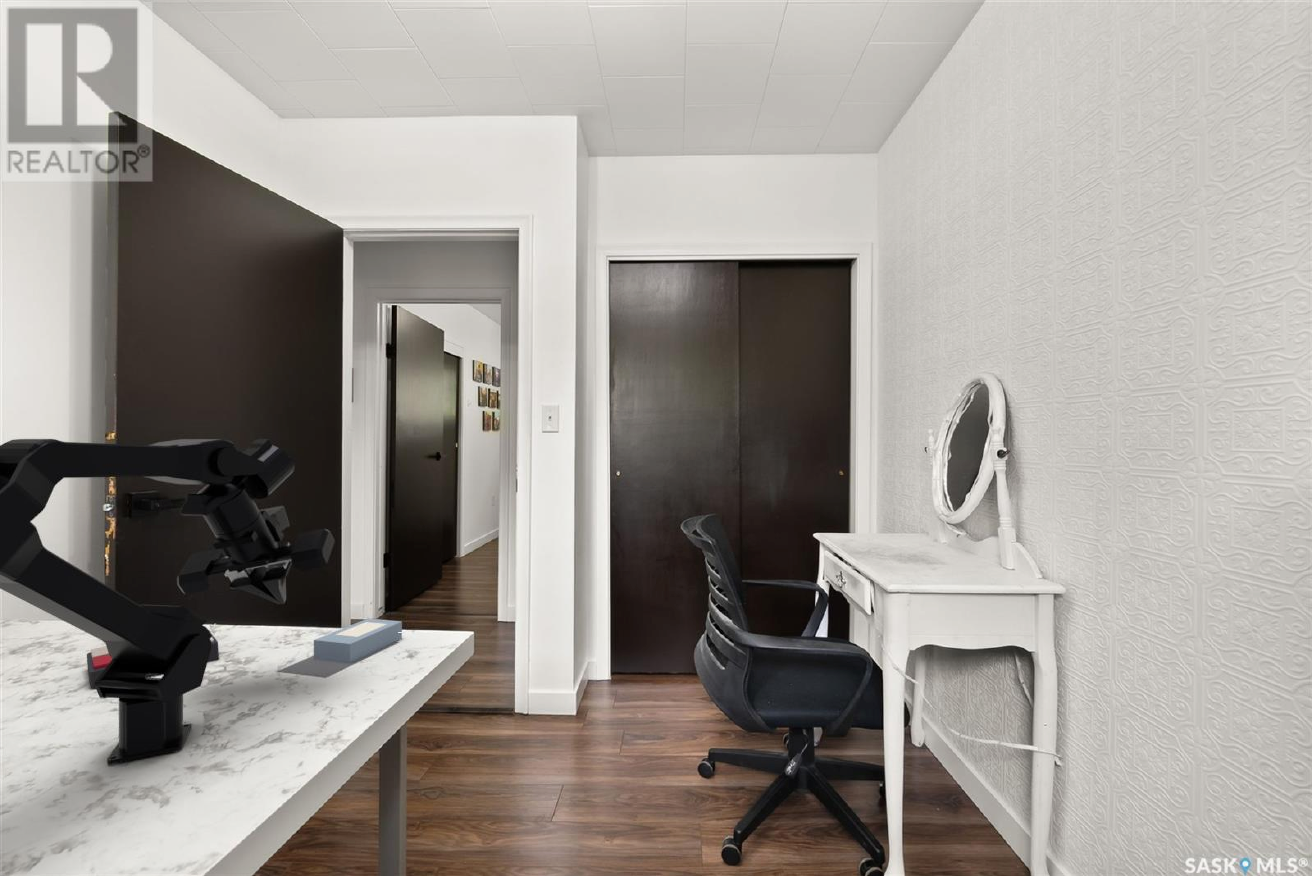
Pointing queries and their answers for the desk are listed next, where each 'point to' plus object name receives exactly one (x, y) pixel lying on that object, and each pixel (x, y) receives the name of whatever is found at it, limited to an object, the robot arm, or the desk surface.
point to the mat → (323, 665)
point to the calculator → (101, 659)
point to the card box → (357, 640)
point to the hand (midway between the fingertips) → (282, 601)
